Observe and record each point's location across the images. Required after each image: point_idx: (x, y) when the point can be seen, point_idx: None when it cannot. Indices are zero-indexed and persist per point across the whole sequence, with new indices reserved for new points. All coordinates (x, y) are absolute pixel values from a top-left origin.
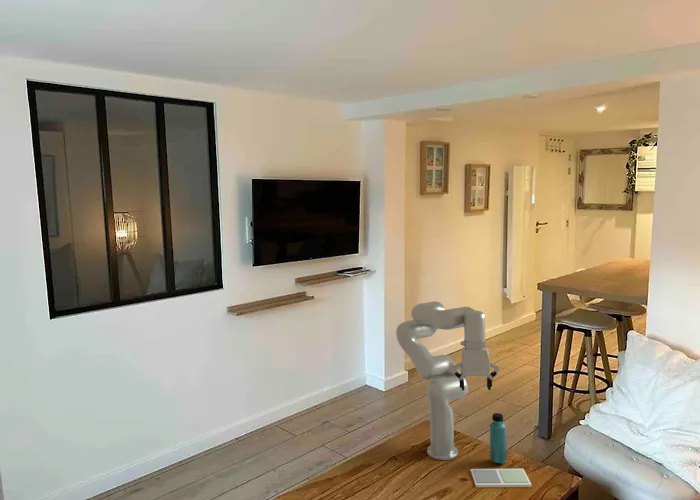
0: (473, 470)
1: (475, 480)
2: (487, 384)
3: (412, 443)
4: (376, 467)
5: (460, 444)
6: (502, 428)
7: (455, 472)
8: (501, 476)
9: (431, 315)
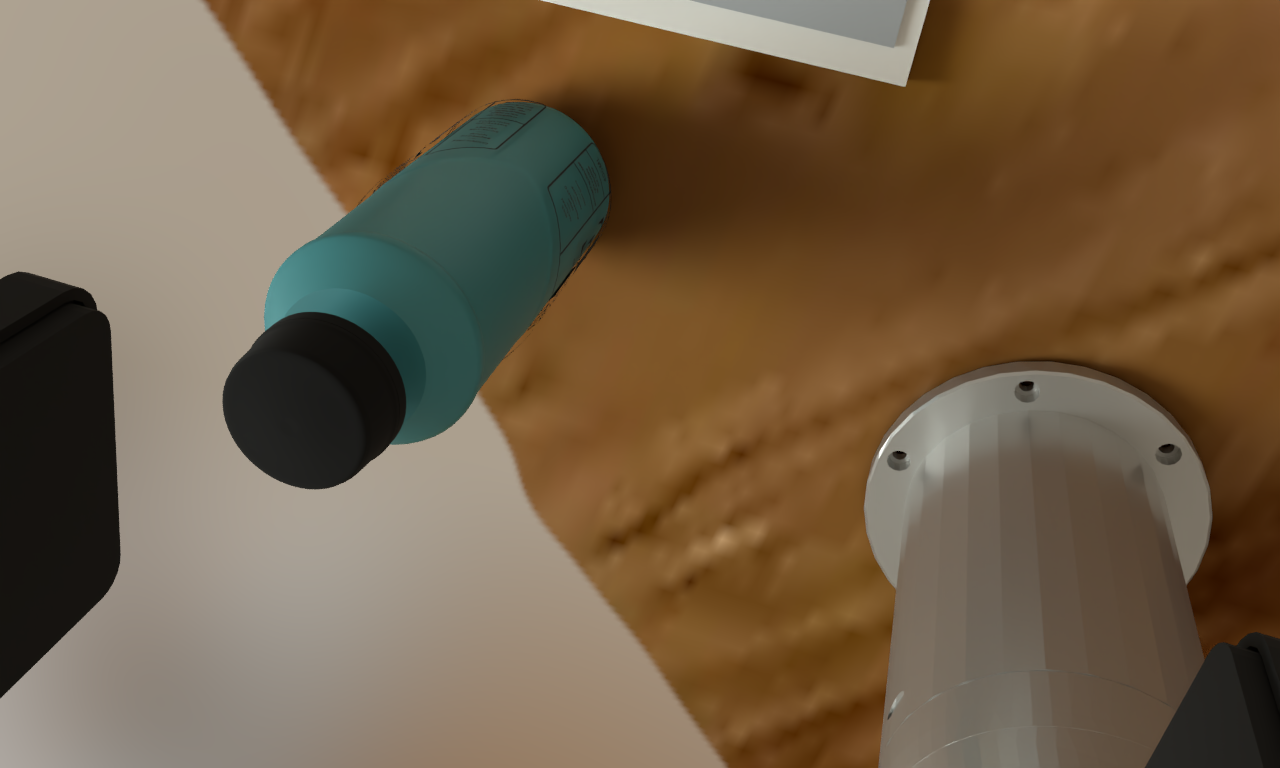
0: (894, 35)
1: None
2: (12, 592)
3: None
4: None
5: (774, 584)
6: (335, 240)
7: (1088, 106)
8: None
9: None
